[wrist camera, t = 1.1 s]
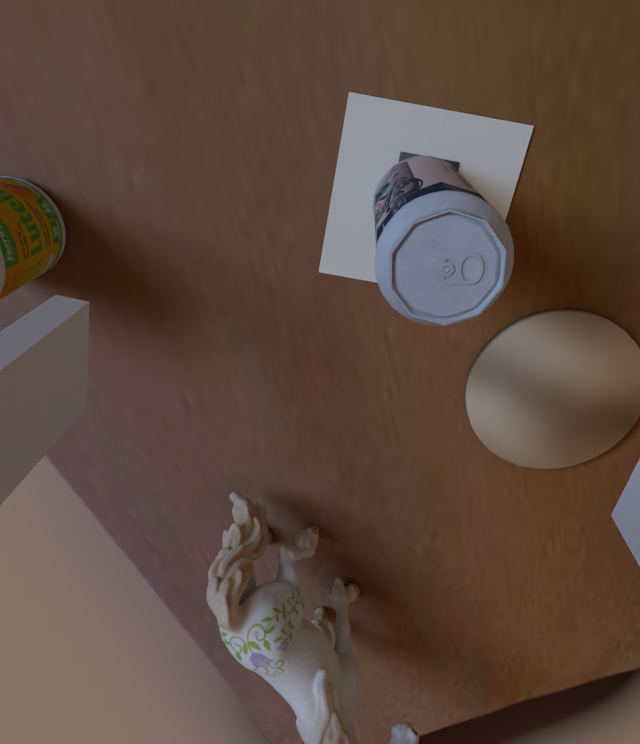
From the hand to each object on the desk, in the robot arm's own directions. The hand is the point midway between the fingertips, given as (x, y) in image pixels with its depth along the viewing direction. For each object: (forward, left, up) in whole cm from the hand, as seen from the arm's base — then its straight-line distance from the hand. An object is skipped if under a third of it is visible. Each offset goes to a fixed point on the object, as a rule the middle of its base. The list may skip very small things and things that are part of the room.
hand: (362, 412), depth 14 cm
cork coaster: (+7, +12, -20) cm, 25 cm away
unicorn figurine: (+22, +3, -20) cm, 30 cm away
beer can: (-2, +2, -20) cm, 20 cm away
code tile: (-2, +2, -20) cm, 20 cm away
